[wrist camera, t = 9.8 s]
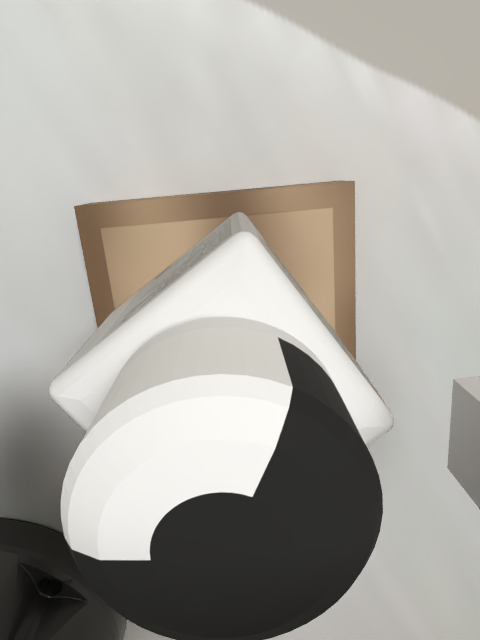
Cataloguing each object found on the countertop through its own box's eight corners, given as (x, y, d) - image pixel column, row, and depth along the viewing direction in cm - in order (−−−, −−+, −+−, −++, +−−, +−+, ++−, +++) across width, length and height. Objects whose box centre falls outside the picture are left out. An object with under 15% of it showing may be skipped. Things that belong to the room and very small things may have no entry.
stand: (131, 422, 25) (120, 450, 23) (91, 203, 21) (72, 206, 19) (344, 404, 25) (357, 429, 23) (340, 180, 21) (355, 181, 19)
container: (342, 340, 21) (503, 574, 9) (214, 431, 22) (196, 746, 10) (240, 207, 19) (261, 264, 7) (107, 315, 20) (-82, 530, 8)
